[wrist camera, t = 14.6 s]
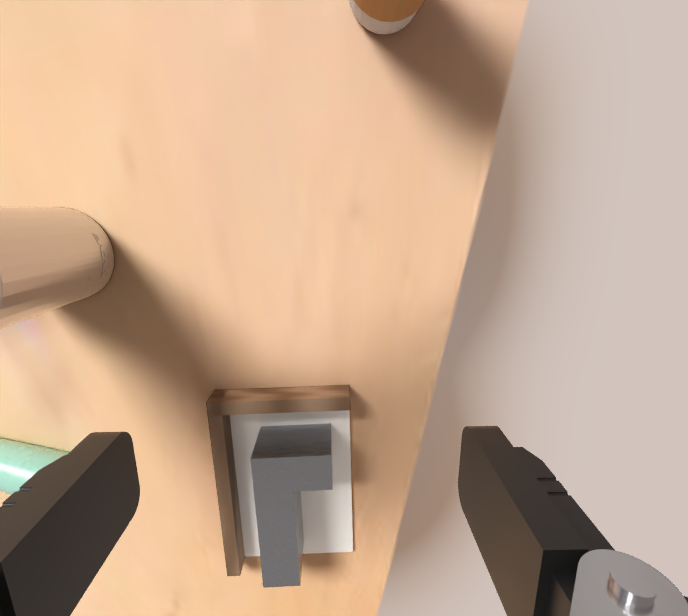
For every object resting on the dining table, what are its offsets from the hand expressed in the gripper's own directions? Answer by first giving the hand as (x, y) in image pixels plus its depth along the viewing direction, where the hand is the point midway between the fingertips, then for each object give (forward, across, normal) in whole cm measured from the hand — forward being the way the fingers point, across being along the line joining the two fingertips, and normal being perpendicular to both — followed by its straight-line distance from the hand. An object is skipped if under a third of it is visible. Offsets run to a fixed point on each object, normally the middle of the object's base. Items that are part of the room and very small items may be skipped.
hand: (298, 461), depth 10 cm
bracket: (+32, +3, +26) cm, 41 cm away
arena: (+32, +5, +25) cm, 41 cm away
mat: (+32, +4, +26) cm, 42 cm away
